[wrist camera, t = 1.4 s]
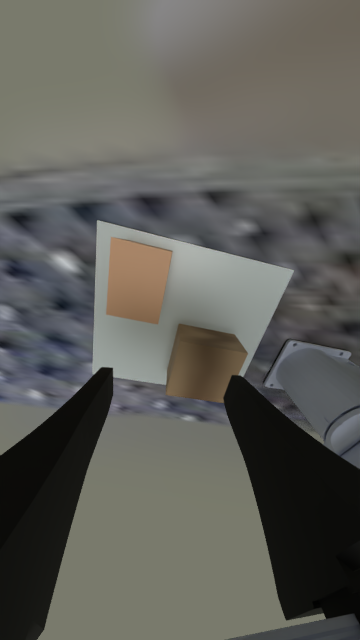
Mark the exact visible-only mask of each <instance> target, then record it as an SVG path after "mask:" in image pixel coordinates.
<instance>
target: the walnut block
mask: <svg viewBox="0 0 360 640" xmlns="http://www.w3.org/2000/svg"><path fill="white" fill-rule="evenodd" d="M247 355H248V353H247V351H246V350H245V348H244V347H243V345H242V344H241V343H240V341H239V340H238V338H237V337H236V335H235V334H230V333H225V332H220V331H215V330H210V329H204V328H199V327H194V326H189V325H184V324H178V328H177V332H176V336H175V340H174V344H173V348H172V352H171V357H170V361H169V365H168V369H167V380H166V395H171V396H178V397H185V398H192V399H199V400H206V401H213V402H220V403H224V400H223V397H224V394H225V392H226V389H227V386H228V384H229V381H230V378H231V376H232V375H238V374H239V372H240V370H241V368H242V366H243V364H244V361H245V359H246V357H247Z"/></svg>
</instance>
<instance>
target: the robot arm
mask: <svg viewBox="0 0 360 640" xmlns="http://www.w3.org/2000/svg"><path fill="white" fill-rule="evenodd" d="M294 343H295V344H294ZM293 344H294V345H293ZM350 356H351V352H349V351H346V350H341V349H336V348H331V347H326V346H321V345H316V344H311V343H306V342H301V341H296V340H288V341H287V342H286V344H285V346H284V347H283V349H282V351H281V353H280V355H279V357H278V358H277V360H276V362H275V364H274V366H273V367H272V369H271V371H270V373H269V375H268V377H267V378H266V380H265V382H264V385H265V386H266V387H270V388H276V389H282V390H285V392H286V393H287V394H288V395H289V397H290V398H291V399H292V401H293V402H294V403H295V404H296V406H297V407H298V408H299V410H300V411H301V412H302V413H303V415H304V416H305V417H306V419H307V420H308V421H309V422H310V424H311V425H312V426H313V428H314V429H315V430H316V432H317V433H318V434H319V435H320V437H321V438H322V439H323V441H324V444H321V443H320V442H319V441H317V440H316V439H314V438H313V437H312V436H310V435H309V434H308V433H306V432H305V431H304V430H303V429H301V428H300V427H299V426H297V425H296V424H295V423H294V422H292V421H291V420H290V419H289V418H288V417H286V416H285V415H284V414H283V413H282V412H280V411H279V410H278V409H277V408H276V407H275V406H274V405H272V404H271V403H270V402H269V401H268V400H267V399H266V398H265V397H264V396H263V395H262V394H260V393H259V392H258V391H257V390H256V389H255V388H254V387H253V386H252V385H251V384H250V383H249V382H248V381H247V380H245V379H244V378H243V377H242V376H241V375H232V376H231V378H230V381H229V384H228V386H227V389H226V392H225V394H224V397H223V400H224V404H225V408H226V412H227V415H228V418H229V421H230V424H231V426H232V429H233V432H234V434H235V437H236V439H237V442H238V444H239V447H240V450H241V452H242V455H243V458H244V461H245V463H246V467H247V470H248V473H249V477H250V480H251V483H252V487H253V491H254V495H255V498H256V502H257V506H258V509H259V513H260V517H261V522H262V525H263V530H264V534H265V538H266V542H267V546H268V551H269V555H270V560H271V564H272V569H273V574H274V578H275V584H276V589H277V594H278V598H279V601H280V604H281V607H282V610H283V613H284V616H285V619H286V620H291V619H296V618H301V617H306V616H311V615H316V614H321V613H324V615H325V617H326V619H324V620H319V621H314V622H310V623H305V624H300V625H295V626H290V627H285V628H280V629H275V630H270V631H266V632H261V633H256V634H251V635H246V636H241V637H236V638H231V639H227V640H360V367H359V366H358V365H356V364H354V363H353V362H351V361H350V360H348V359H349V357H350ZM270 384H271V385H270ZM112 396H113V368H111V367H101V368H100V369H99V370H98V371H97V372H96V373H95V374H94V375H93V376H92V377H91V379H90V380H89V381H88V382H87V383H86V384H85V385H84V386H83V387H82V388H81V389H80V390H79V391H78V392H77V393H76V394H75V395H74V396H73V397H72V398H71V399H69V400H68V401H67V402H66V403H65V404H64V405H63V406H62V407H61V408H60V409H58V410H57V411H56V412H55V413H54V414H53V415H52V416H51V417H49V418H48V419H47V420H46V421H45V422H43V423H42V424H41V425H40V426H38V427H37V428H36V429H35V430H34V431H32V432H31V433H30V434H28V435H27V436H26V437H25V438H23V439H22V440H21V441H19V442H18V443H17V444H15V445H14V446H13V447H11V448H10V449H9V450H7V451H6V452H5V453H4V454H2V455H0V640H37V639H38V637H39V636H40V634H41V633H42V632H43V630H44V627H45V623H46V619H47V615H48V611H49V607H50V604H51V600H52V596H53V592H54V588H55V584H56V580H57V577H58V573H59V569H60V565H61V561H62V557H63V554H64V550H65V547H66V543H67V539H68V535H69V532H70V528H71V524H72V521H73V517H74V514H75V510H76V507H77V503H78V500H79V496H80V493H81V489H82V486H83V482H84V479H85V475H86V472H87V469H88V466H89V463H90V460H91V457H92V455H93V452H94V449H95V447H96V444H97V441H98V438H99V436H100V433H101V431H102V427H103V425H104V423H105V420H106V417H107V414H108V411H109V408H110V404H111V400H112Z"/></svg>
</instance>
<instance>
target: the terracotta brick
mask: <svg viewBox="0 0 360 640" xmlns="http://www.w3.org/2000/svg"><path fill="white" fill-rule="evenodd" d="M172 252H173V251H171V250H167V249H163V248H159V247H155V246H151V245H147V244H143V243H138V242H134V241H130V240H126V239H120V238H114V237H111V243H110V259H109V276H108V292H107V308H106V315H111V316H116V317H121V318H126V319H132V320H137V321H142V322H147V323H152V324H158V322H159V318H160V313H161V308H162V303H163V298H164V293H165V288H166V283H167V278H168V272H169V267H170V262H171V257H172Z"/></svg>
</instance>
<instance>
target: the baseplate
mask: <svg viewBox="0 0 360 640" xmlns="http://www.w3.org/2000/svg"><path fill="white" fill-rule="evenodd" d="M111 237H114V238H120V239H126V240H130V241H134V242H138V243H143V244H147V245H151V246H155V247H159V248H163V249H167V250H171V251H173V252H172V257H171V262H170V267H169V272H168V278H167V283H166V288H165V293H164V298H163V303H162V308H161V313H160V318H159V322H158V324H152V323H147V322H142V321H137V320H132V319H126V318H121V317H116V316H111V315H106V308H107V292H108V276H109V259H110V243H111ZM293 272H294V270H291V269H287V268H283V267H279V266H275V265H271V264H267V263H263V262H259V261H255V260H252V259H248V258H244V257H240V256H236V255H232V254H228V253H224V252H220V251H216V250H212V249H208V248H204V247H201V246H197V245H193V244H189V243H185V242H181V241H177V240H173V239H169V238H165V237H161V236H157V235H154V234H150V233H146V232H142V231H138V230H134V229H130V228H126V227H122V226H118V225H114V224H110V223H106V222H103V221H99V220H97V245H96V276H95V308H94V340H93V371H92V374H95V373H96V372H97V371H98V370H99V369H100V368H101V367H111V368H113V377H116V378H123V379H130V380H136V381H143V382H150V383H157V384H163V385H166V380H167V369H168V365H169V361H170V357H171V352H172V348H173V344H174V340H175V336H176V332H177V328H178V324H184V325H189V326H194V327H199V328H204V329H210V330H215V331H220V332H225V333H230V334H235V335H236V337H237V338H238V340H239V341H240V343H241V344H242V345H243V347H244V348H245V350H246V351H247V353H248V355H247V357H246V359H245V361H244V364H243V366H242V368H241V370H240V372H239V374H238V375H241V376H242V377H243V376H244V374H245V372H246V370H247V368H248V366H249V364H250V362H251V360H252V358H253V356H254V353H255V351H256V349H257V347H258V345H259V343H260V341H261V339H262V337H263V335H264V333H265V331H266V328H267V326H268V324H269V322H270V320H271V318H272V316H273V314H274V312H275V310H276V308H277V305H278V303H279V301H280V299H281V297H282V295H283V293H284V291H285V289H286V287H287V285H288V282H289V280H290V278H291V276H292V274H293Z"/></svg>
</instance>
